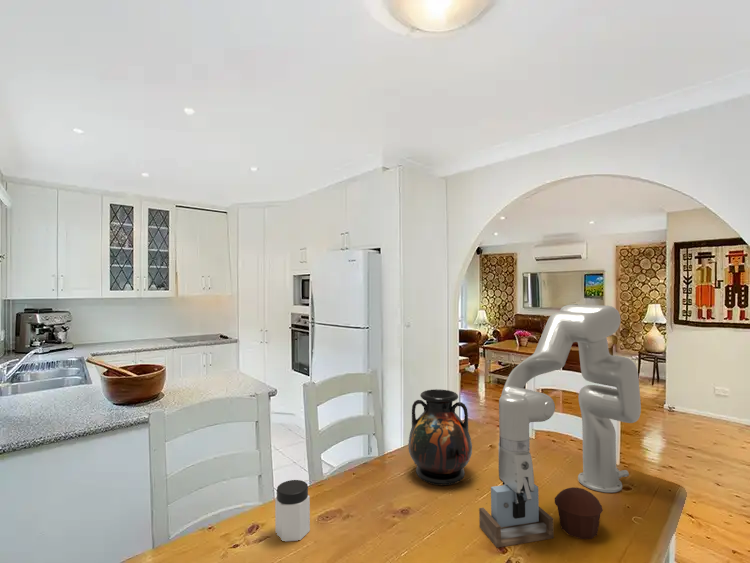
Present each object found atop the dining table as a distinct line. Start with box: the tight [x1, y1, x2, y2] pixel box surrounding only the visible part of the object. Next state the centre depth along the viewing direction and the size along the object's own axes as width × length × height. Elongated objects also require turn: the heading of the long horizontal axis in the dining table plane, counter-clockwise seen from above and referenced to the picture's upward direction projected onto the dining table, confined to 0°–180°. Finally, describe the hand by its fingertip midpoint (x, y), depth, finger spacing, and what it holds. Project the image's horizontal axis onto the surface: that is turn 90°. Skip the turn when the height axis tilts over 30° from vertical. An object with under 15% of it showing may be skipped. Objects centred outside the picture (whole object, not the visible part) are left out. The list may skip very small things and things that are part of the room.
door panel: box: [490, 483, 540, 527], centre depth 107 cm, size 12×3×9 cm, turn 103°
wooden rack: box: [478, 506, 554, 548], centre depth 107 cm, size 16×9×5 cm, turn 103°
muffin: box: [554, 487, 604, 540], centre depth 108 cm, size 12×11×10 cm
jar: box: [274, 479, 311, 542], centre depth 108 cm, size 9×8×12 cm
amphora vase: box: [407, 388, 473, 486], centre depth 140 cm, size 22×22×28 cm
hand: (515, 512), depth 107 cm, fingers closed on door panel, 3 cm apart
